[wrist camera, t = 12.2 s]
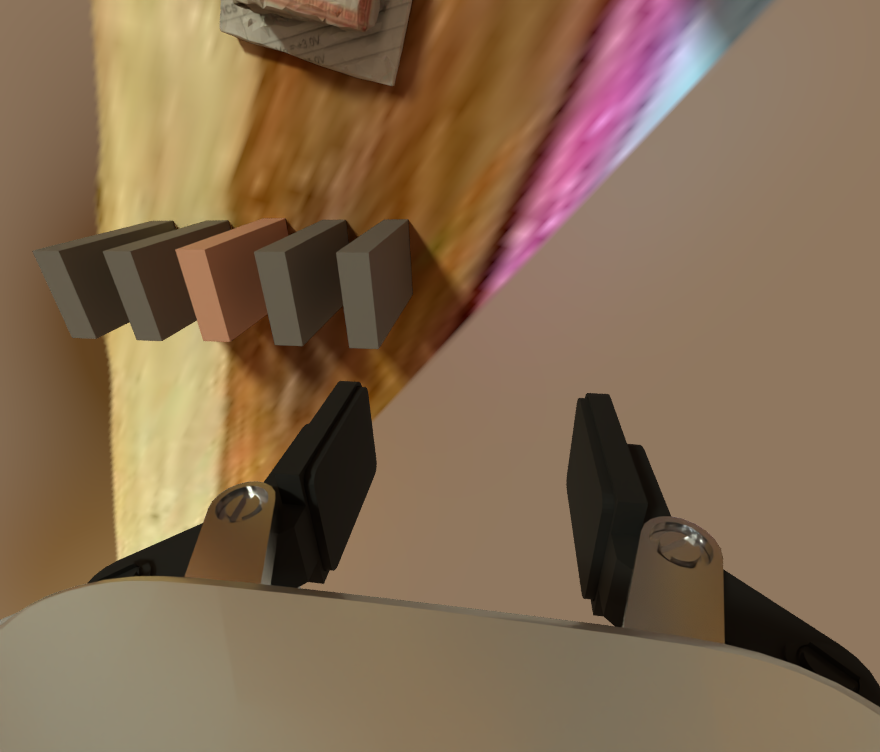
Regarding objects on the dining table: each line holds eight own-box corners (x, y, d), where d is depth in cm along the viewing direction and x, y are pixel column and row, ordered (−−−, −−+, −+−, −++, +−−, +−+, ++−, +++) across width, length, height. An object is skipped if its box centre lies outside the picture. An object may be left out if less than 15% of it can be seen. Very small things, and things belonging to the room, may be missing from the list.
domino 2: (228, 220, 31) (130, 251, 23) (245, 291, 33) (162, 341, 25) (206, 220, 31) (102, 251, 23) (225, 290, 33) (136, 339, 25)
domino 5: (408, 219, 29) (368, 252, 21) (412, 294, 31) (378, 348, 23) (384, 219, 29) (335, 252, 21) (390, 293, 31) (349, 348, 24)
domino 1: (172, 220, 31) (58, 250, 23) (193, 290, 34) (96, 338, 26) (152, 221, 31) (32, 251, 24) (174, 289, 34) (72, 337, 26)
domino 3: (285, 218, 30) (204, 249, 22) (298, 290, 32) (230, 341, 25) (263, 218, 30) (175, 249, 22) (278, 290, 33) (203, 341, 25)
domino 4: (345, 219, 29) (284, 251, 22) (354, 293, 32) (302, 346, 24) (322, 219, 30) (253, 251, 22) (333, 292, 32) (274, 345, 24)
